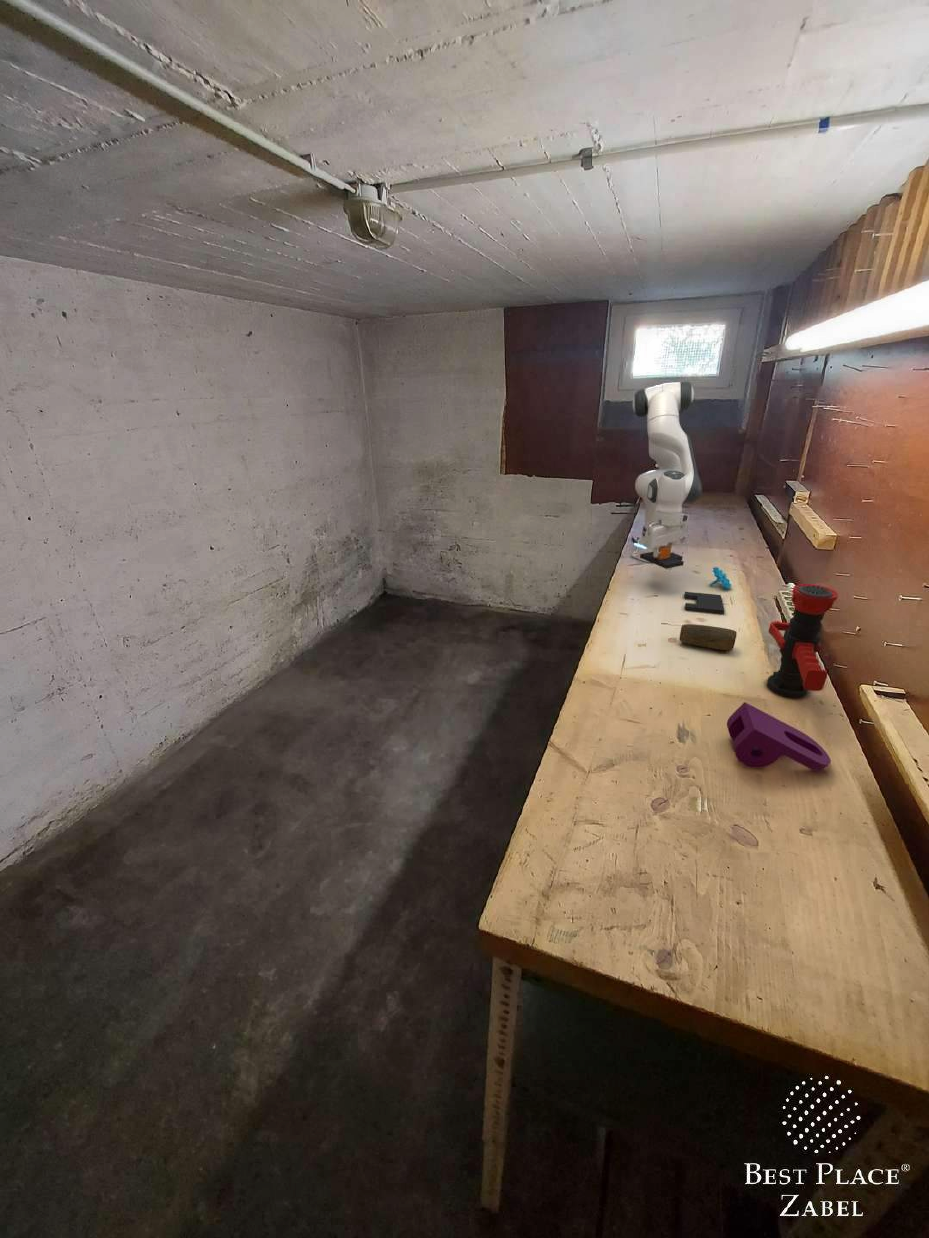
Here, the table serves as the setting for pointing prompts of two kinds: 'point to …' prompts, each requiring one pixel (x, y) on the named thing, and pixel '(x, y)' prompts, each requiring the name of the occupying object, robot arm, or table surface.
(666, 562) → the pad
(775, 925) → the table surface
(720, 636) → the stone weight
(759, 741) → the mounting bracket
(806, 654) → the fire hose nozzle
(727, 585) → the gear
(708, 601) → the socket pad
